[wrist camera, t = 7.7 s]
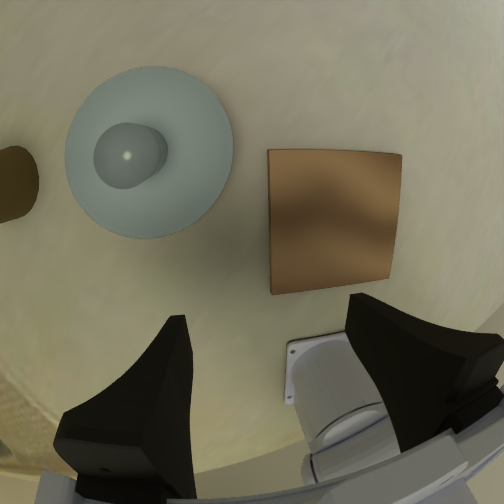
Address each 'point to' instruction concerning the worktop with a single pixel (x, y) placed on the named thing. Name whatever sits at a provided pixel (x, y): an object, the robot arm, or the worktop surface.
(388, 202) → the board
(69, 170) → the lid
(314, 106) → the worktop surface
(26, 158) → the cork
